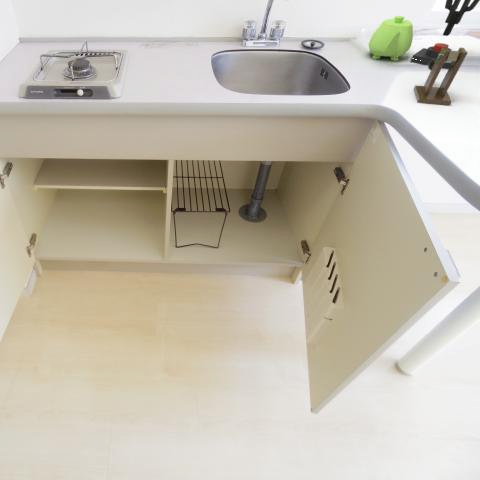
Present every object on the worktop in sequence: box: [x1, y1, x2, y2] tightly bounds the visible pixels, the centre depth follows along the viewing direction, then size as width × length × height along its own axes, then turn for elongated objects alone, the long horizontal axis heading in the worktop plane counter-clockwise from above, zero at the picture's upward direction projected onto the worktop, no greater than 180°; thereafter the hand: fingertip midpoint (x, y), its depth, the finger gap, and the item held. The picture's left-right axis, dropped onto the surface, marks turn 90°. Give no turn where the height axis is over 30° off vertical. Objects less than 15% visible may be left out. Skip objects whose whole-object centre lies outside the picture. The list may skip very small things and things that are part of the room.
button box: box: [409, 45, 453, 70], centre depth 120 cm, size 12×10×4 cm
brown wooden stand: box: [412, 47, 468, 106], centre depth 97 cm, size 10×8×13 cm
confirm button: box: [433, 42, 450, 51], centre depth 119 cm, size 4×4×2 cm
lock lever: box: [427, 50, 460, 71], centre depth 99 cm, size 14×4×4 cm, turn 158°
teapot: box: [368, 15, 414, 62], centre depth 123 cm, size 20×13×13 cm
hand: (446, 34), depth 116 cm, fingers closed
